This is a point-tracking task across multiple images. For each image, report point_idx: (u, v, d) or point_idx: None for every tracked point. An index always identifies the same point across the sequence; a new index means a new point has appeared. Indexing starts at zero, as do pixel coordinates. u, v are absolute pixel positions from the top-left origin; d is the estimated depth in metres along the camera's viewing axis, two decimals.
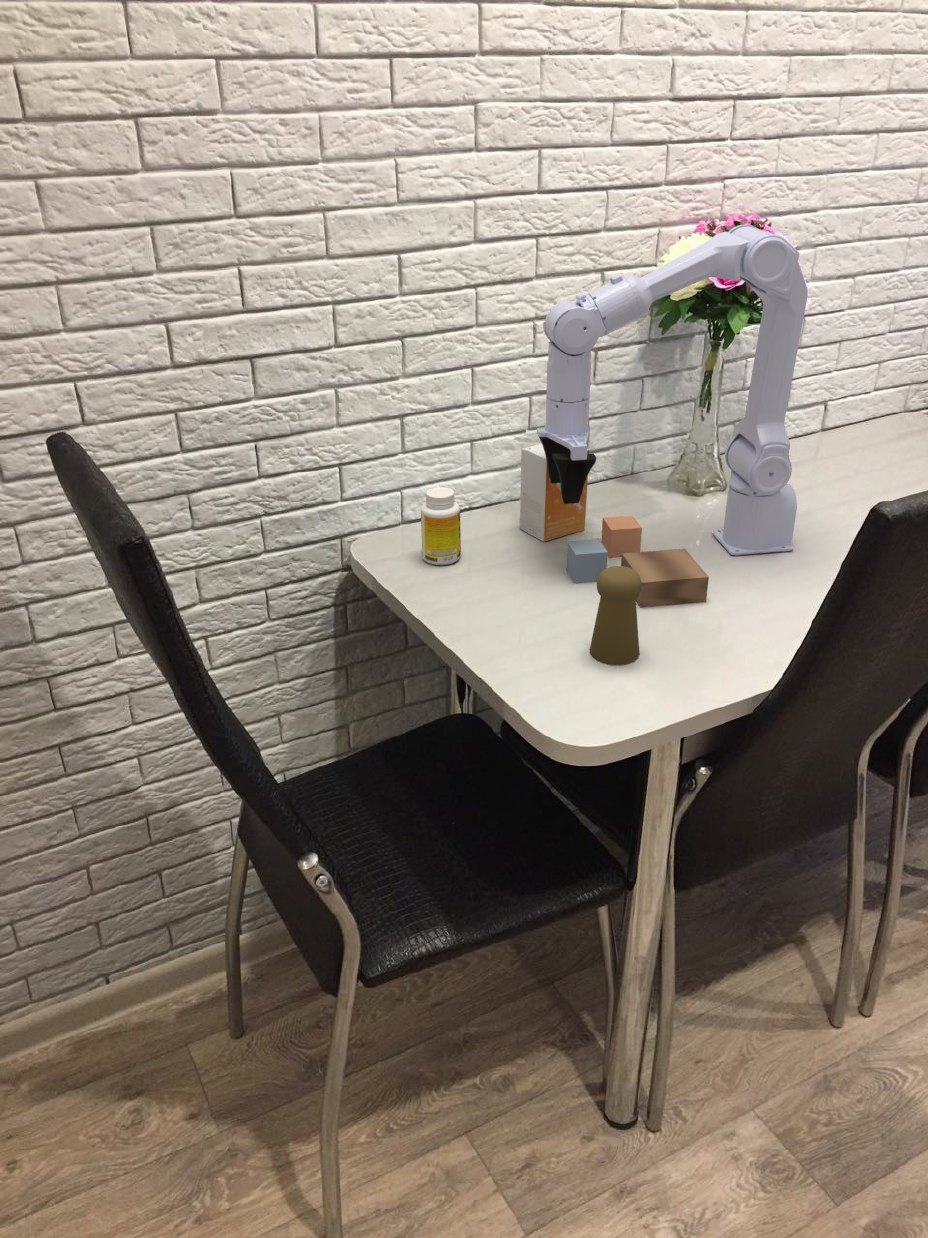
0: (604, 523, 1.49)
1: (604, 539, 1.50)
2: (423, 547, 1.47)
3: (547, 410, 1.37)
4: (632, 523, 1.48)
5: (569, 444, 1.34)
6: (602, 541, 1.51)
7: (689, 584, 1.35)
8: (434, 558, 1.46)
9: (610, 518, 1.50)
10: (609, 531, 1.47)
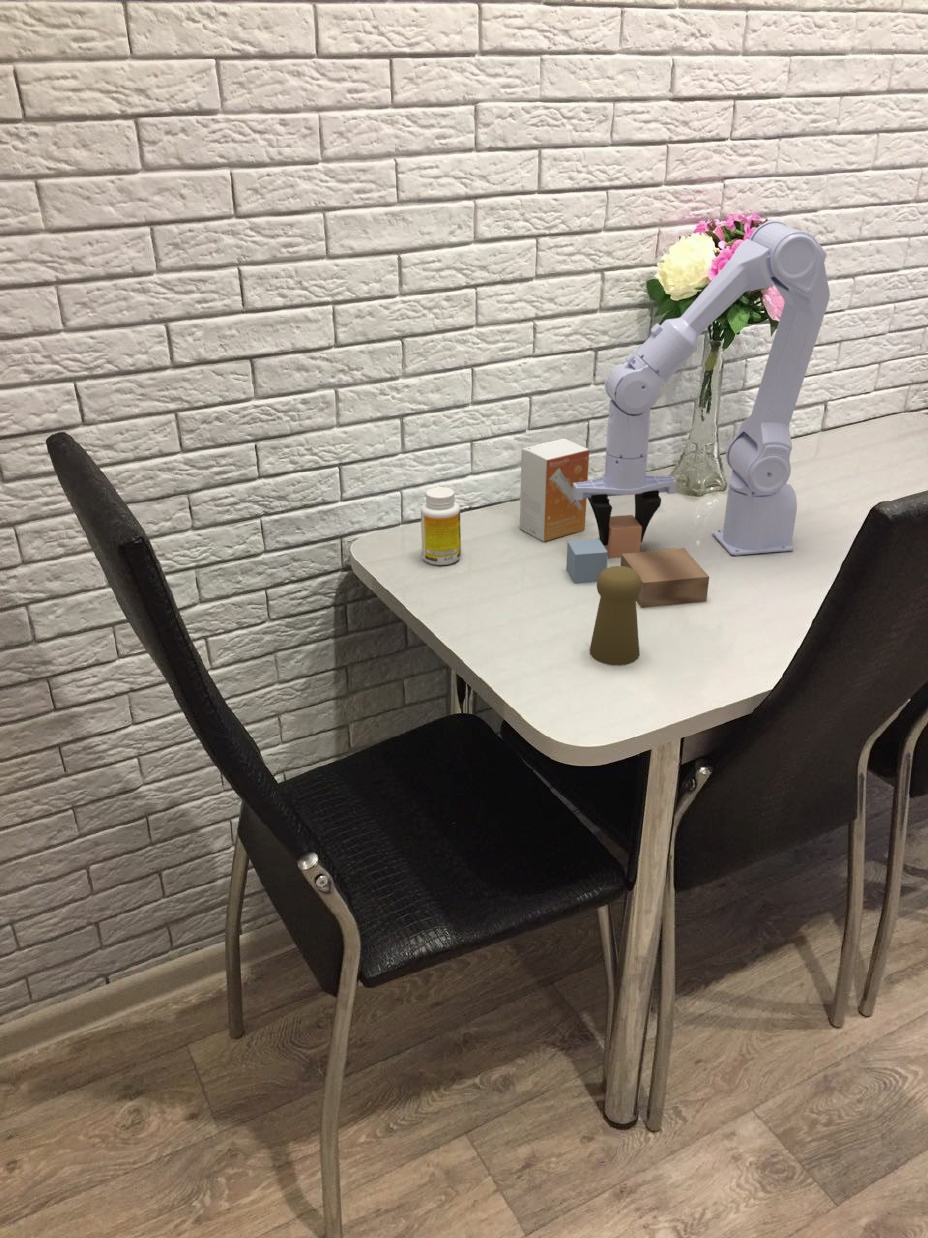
0: None
1: None
2: (423, 547, 1.47)
3: None
4: (632, 522, 1.48)
5: None
6: None
7: (689, 584, 1.35)
8: (434, 558, 1.46)
9: (610, 517, 1.50)
10: (609, 530, 1.47)
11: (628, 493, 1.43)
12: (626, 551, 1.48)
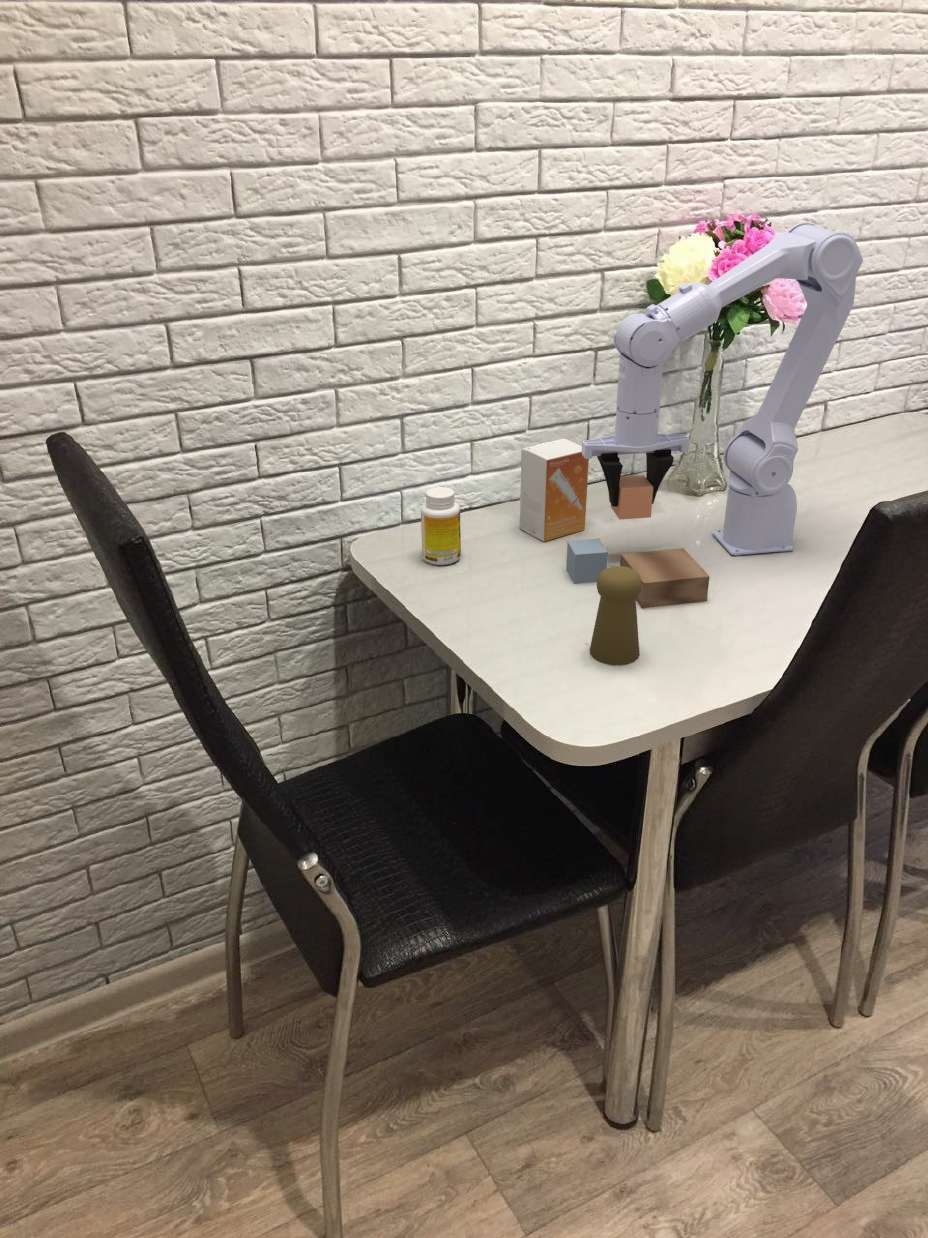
0: None
1: None
2: (423, 547, 1.47)
3: None
4: (643, 482, 1.43)
5: None
6: None
7: (690, 584, 1.35)
8: (434, 558, 1.46)
9: (620, 477, 1.44)
10: (619, 490, 1.42)
11: (639, 450, 1.38)
12: (637, 512, 1.43)
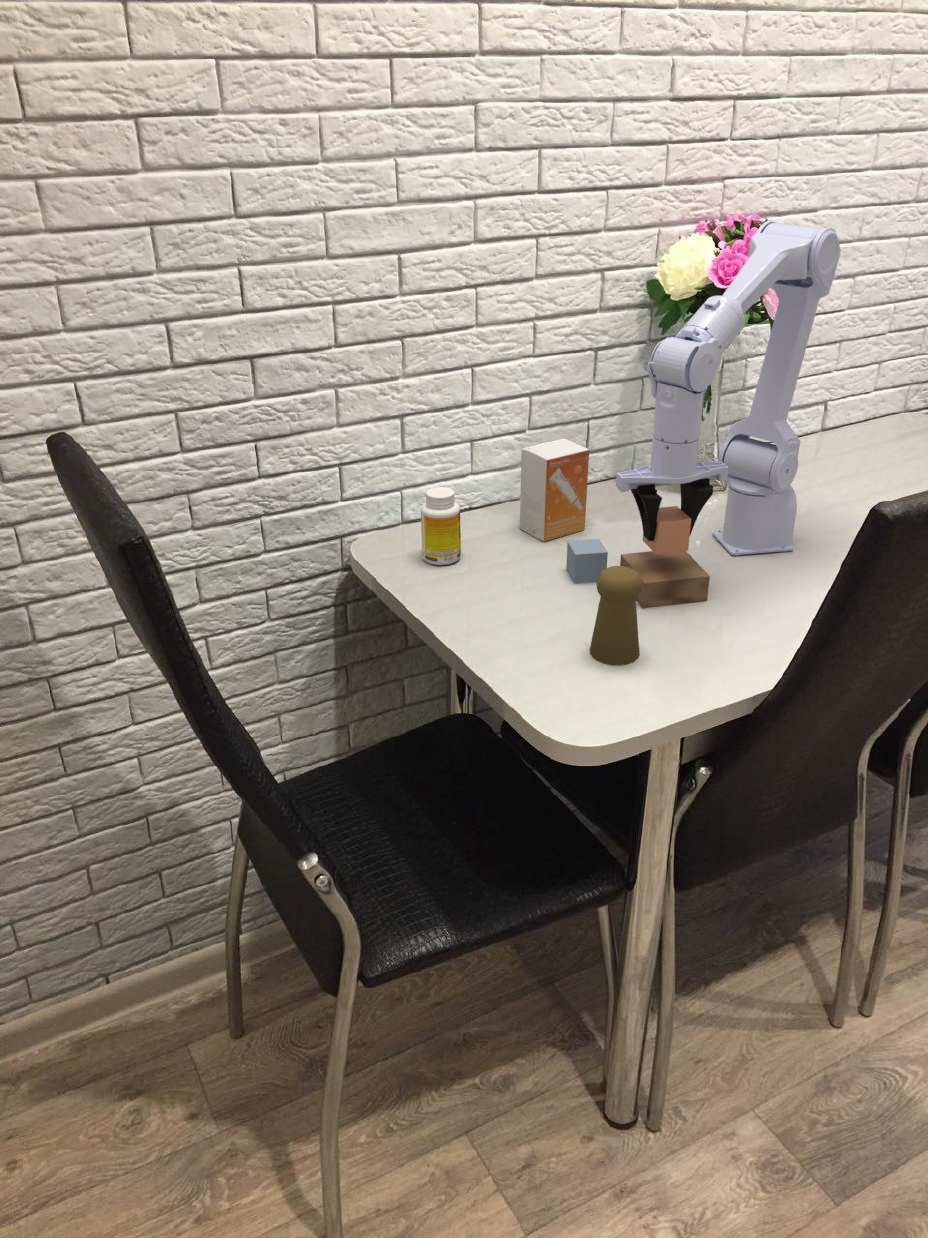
0: None
1: None
2: (423, 547, 1.47)
3: None
4: (679, 514, 1.34)
5: (625, 472, 1.31)
6: None
7: (690, 584, 1.35)
8: (434, 558, 1.46)
9: None
10: (656, 524, 1.33)
11: (680, 482, 1.29)
12: (674, 546, 1.34)
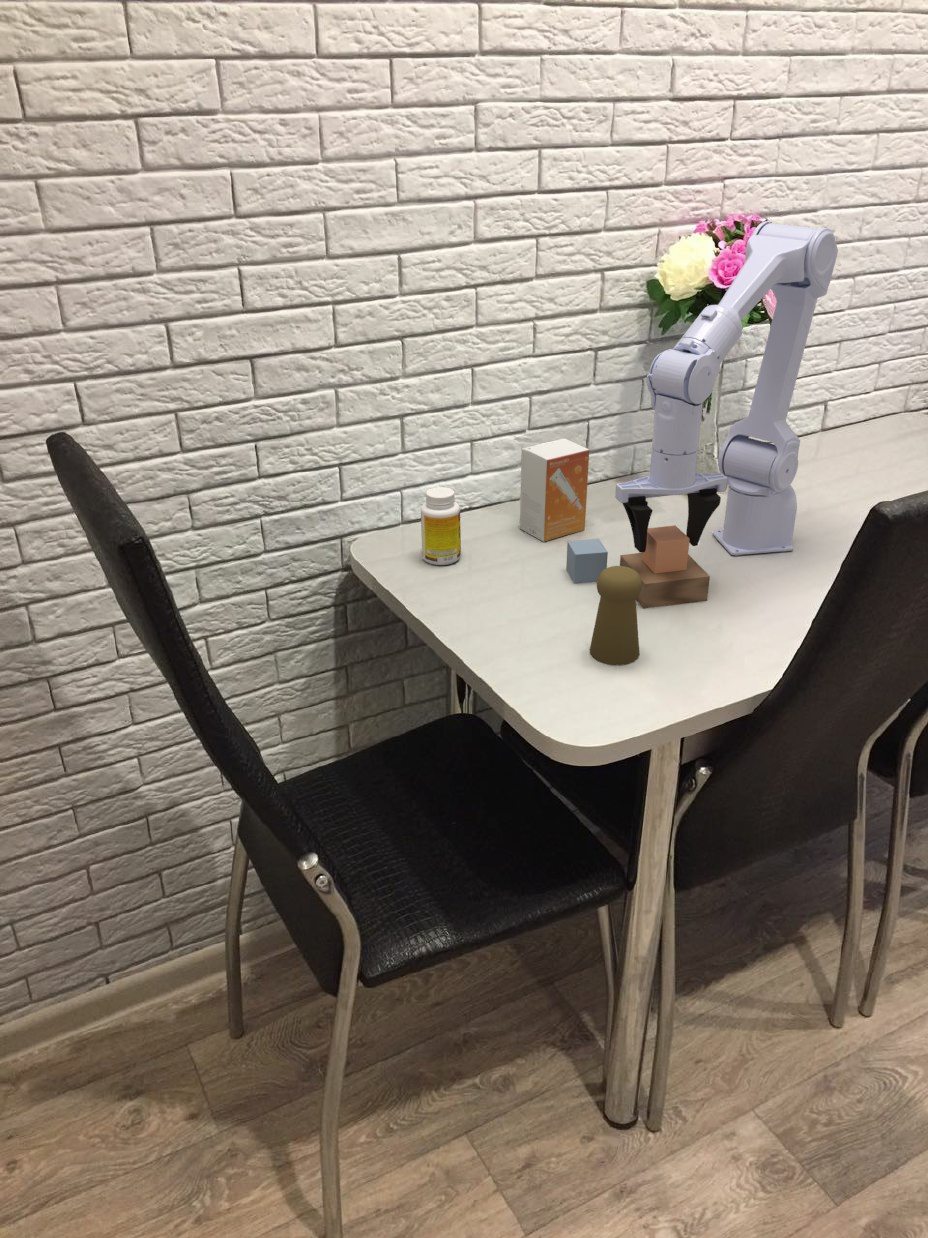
0: None
1: (646, 552, 1.37)
2: (423, 547, 1.47)
3: None
4: (677, 533, 1.36)
5: None
6: (643, 554, 1.38)
7: (690, 584, 1.35)
8: (434, 558, 1.46)
9: (652, 529, 1.37)
10: (654, 543, 1.34)
11: (679, 493, 1.30)
12: (672, 565, 1.36)
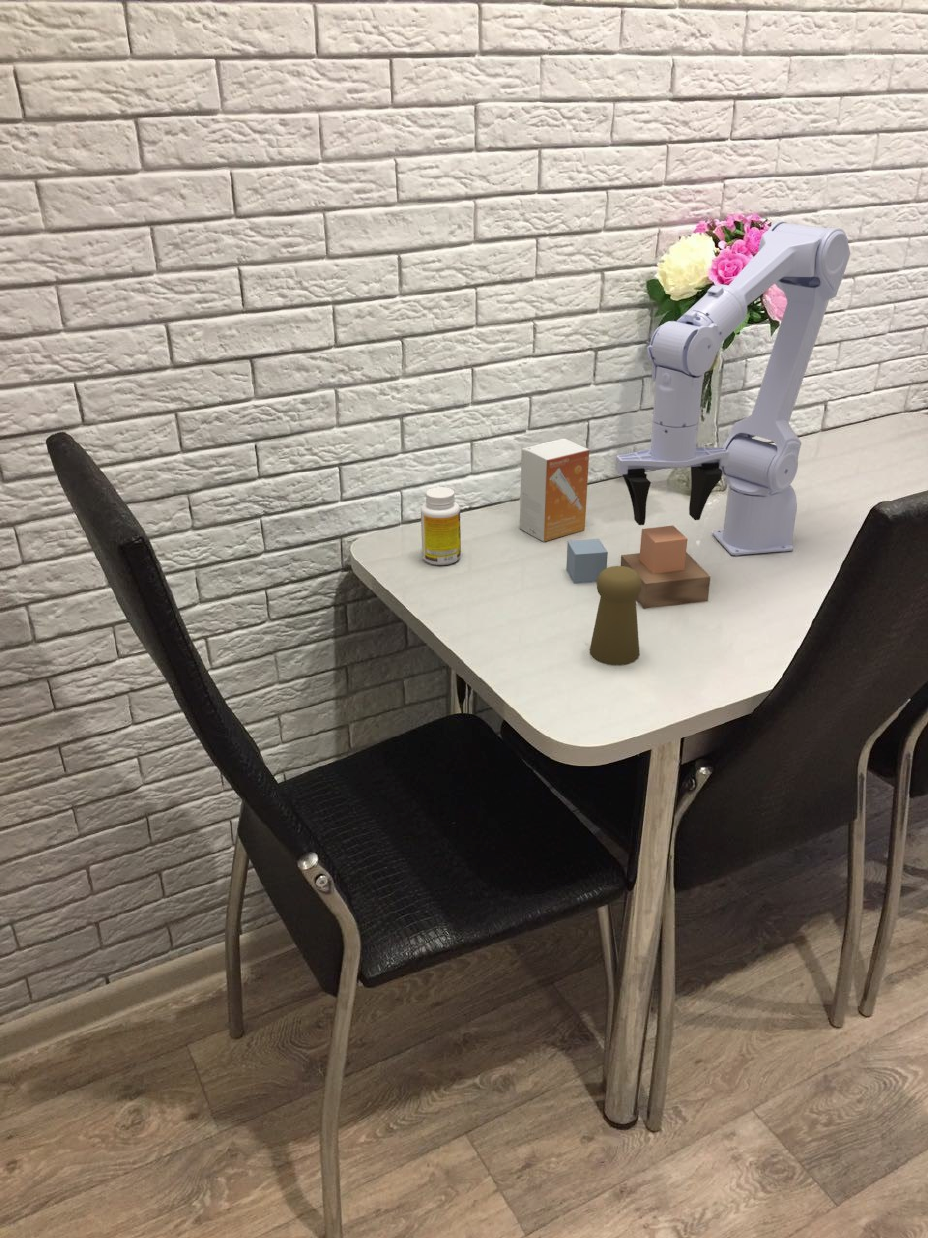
0: (644, 534, 1.37)
1: (644, 552, 1.37)
2: (423, 547, 1.47)
3: None
4: (675, 534, 1.36)
5: (624, 455, 1.32)
6: (641, 554, 1.38)
7: (691, 585, 1.35)
8: (434, 558, 1.46)
9: (650, 529, 1.37)
10: (652, 544, 1.34)
11: (678, 465, 1.30)
12: (670, 565, 1.36)
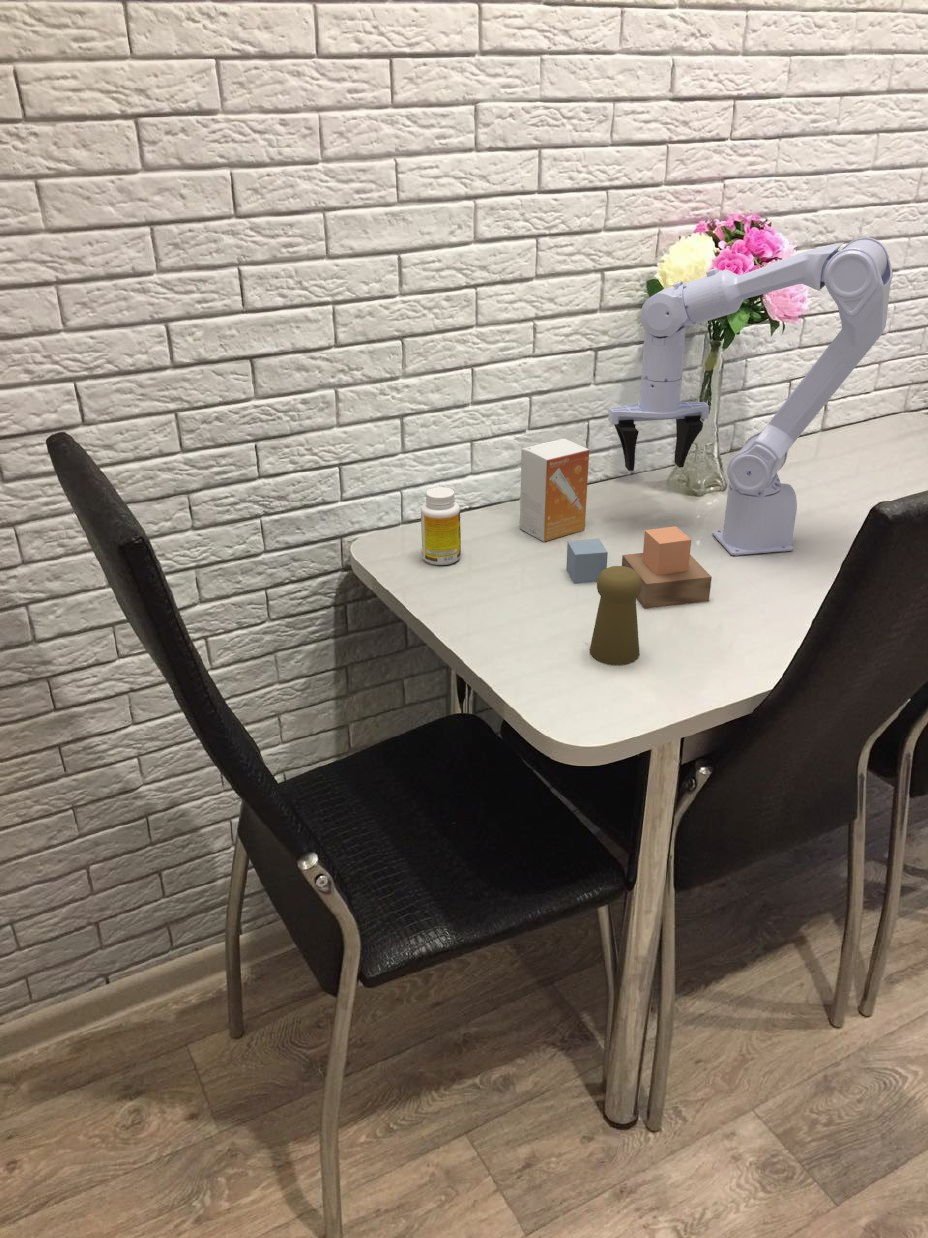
0: (647, 536, 1.36)
1: (648, 554, 1.37)
2: (423, 547, 1.47)
3: None
4: (678, 535, 1.35)
5: None
6: (644, 556, 1.38)
7: (692, 585, 1.35)
8: (434, 558, 1.46)
9: (653, 530, 1.37)
10: (656, 545, 1.34)
11: (663, 416, 1.47)
12: (674, 566, 1.35)
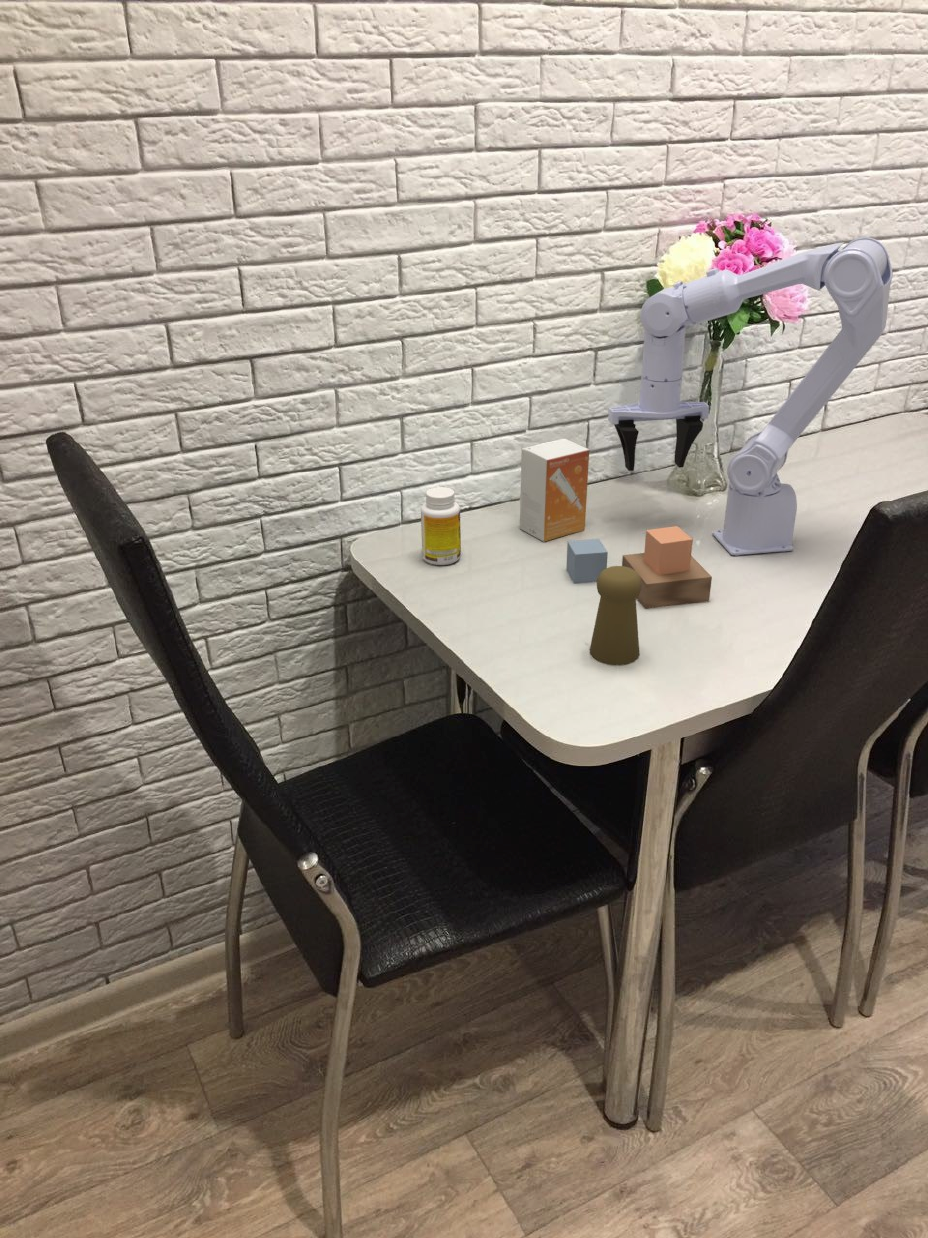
0: (649, 536, 1.36)
1: (649, 554, 1.37)
2: (423, 547, 1.47)
3: None
4: (680, 534, 1.35)
5: None
6: (646, 556, 1.38)
7: (692, 585, 1.35)
8: (434, 558, 1.46)
9: (654, 530, 1.37)
10: (658, 545, 1.34)
11: (663, 416, 1.47)
12: (676, 566, 1.35)
